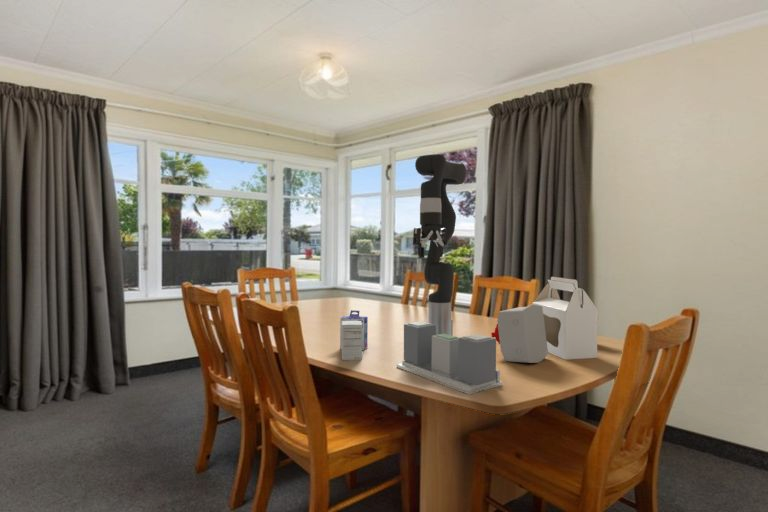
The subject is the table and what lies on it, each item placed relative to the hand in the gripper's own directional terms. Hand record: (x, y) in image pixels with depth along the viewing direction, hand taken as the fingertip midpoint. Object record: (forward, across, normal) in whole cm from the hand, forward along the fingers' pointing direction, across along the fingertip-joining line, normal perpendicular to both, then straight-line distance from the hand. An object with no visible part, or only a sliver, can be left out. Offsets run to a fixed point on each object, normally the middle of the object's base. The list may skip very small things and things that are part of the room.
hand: (430, 257), depth 155 cm
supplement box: (+36, +22, -17) cm, 46 cm away
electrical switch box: (+36, -26, +18) cm, 48 cm away
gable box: (+37, -48, +22) cm, 64 cm away
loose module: (+34, +10, +18) cm, 39 cm away
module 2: (+34, +10, +30) cm, 47 cm away
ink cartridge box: (+36, +14, -28) cm, 48 cm away
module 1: (+34, +10, +5) cm, 36 cm away
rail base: (+36, +10, +18) cm, 41 cm away
